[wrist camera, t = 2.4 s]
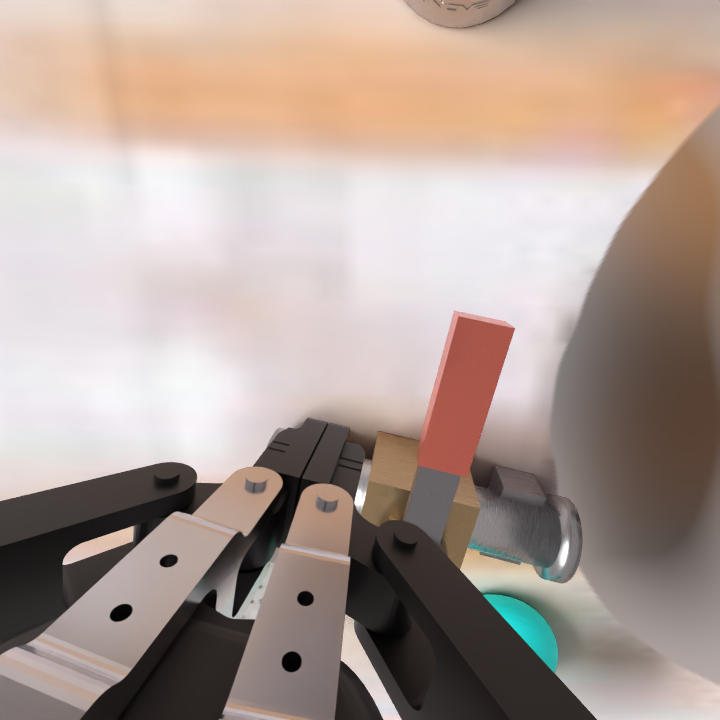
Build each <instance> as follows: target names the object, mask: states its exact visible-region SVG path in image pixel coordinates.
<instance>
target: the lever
mask: <svg viewBox="0 0 720 720" xmlns="http://www.w3.org/2000/svg"><path fill="white" fill-rule="evenodd" d="M514 330H515V328H514V327H512V326H511V325H510V324H508V323H507V322H505V321H500V320H495V319H491V318H486V317H481V316H477V315H472V314H467V313H463V312H458V311H454V314H453V317H452V321H451V325H450V329H449V332H448V336H447V340H446V343H445V347H444V351H443V354H442V358H441V362H440V366H439V369H438V373H437V377H436V380H435V384H434V388H433V392H432V395H431V399H430V403H429V406H428V410H427V414H426V417H425V421H424V425H423V429H422V432H421V436H420V440H419V443H418V447H417V463H418V465H417V468H416V472H415V476H414V479H413V483H412V487H411V490H410V494H409V498H408V501H407V505H406V509H405V512H404V516H403V520H402V521H406V522H409V523H412V524H414V525H416V526H418V527H419V528H421V529H422V530H423V531H424V532H425V533H426V534H427V535H428V536H429V537H430V538H431V539H432V540H433V541H434V542H435V543H436V544H437V546H438V547H439V548H440V549H441V550H442V551H443V552H444V553H445V554H446V555H447V556H448V553H447V546H446V543H445V541H444V539H443V537H442V535H443V532H444V529H445V526H446V523H447V519H448V516H449V513H450V510H451V507H452V503H453V500H454V497H455V494H456V491H457V488H458V484H459V481H460V478H461V476H463V477H467V476H468V473H469V470H470V467H471V464H472V461H473V458H474V454H475V451H476V448H477V445H478V442H479V439H480V436H481V433H482V430H483V426H484V423H485V420H486V417H487V414H488V411H489V408H490V405H491V401H492V398H493V395H494V392H495V389H496V386H497V383H498V380H499V376H500V373H501V370H502V367H503V364H504V361H505V358H506V355H507V351H508V348H509V345H510V342H511V339H512V336H513V333H514Z"/></svg>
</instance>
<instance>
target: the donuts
mask: <svg viewBox="0 0 720 720" xmlns="http://www.w3.org/2000/svg"><path fill="white" fill-rule="evenodd" d="M483 596H484V597H485V598H486V599H487V600H488V601H489V602H490V603H491V605H492V606H493V607H494V608H495V609H496V610H497V611H498V612H499V613H500V614H501V615H502V617H503V618H504V619H505V620H506V621H507V622H508V623H509V624H510V625H511V626H512V627H513V629H514V630H515V631H516V632H517V633H518V634H519V635H520V636H521V637H522V638H523V639H524V641H525V642H526V643H527V644H528V645H529V646H530V647H531V648H532V649H533V650H534V651H535V653H536V654H537V655H538V656H539V657H540V658H541V659H542V660H543V661H544V662H545V663H546V665H547V666H548V667H549V668H550V669H551V670H552V671H553V672H554V673H555V671H556V668H557V663H558V647H557V642H556V639H555V636H554V634H553V631H552V629H551V628H550V626H549V625H548V623H547V622H546V620H545V619H544V618H543V617H542V616H541V615H540V614H539V613H538V612H537V611H536V610H534V609H533V608H532V607H530V606H529V605H527V604H526V603H524V602H522V601H520V600H517V599H514V598H511V597H508V596H503V595H496V594H486V595H483Z"/></svg>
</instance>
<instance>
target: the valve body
mask: <svg viewBox="0 0 720 720" xmlns="http://www.w3.org/2000/svg"><path fill="white" fill-rule="evenodd" d="M283 430H285V429H282V428H279V429H277V430H276V431H275V433H274V434H273V436H272V437H271V439H270V441H269V443H268V445H267V448H268V446H269V444H270V443H271V442H272V441H273V439H274V438H275V437H276V435H277V434H278V433H279V432H281V431H283ZM418 443H419V441H417V440H413V439H409V438H405V437H401V436H396V435H392V434H388V433H384V432H380V431H378V434H377V439H376V443H375V447H374V452H373V456H372V460H370V459H366V458H364V462H363V467H362V471H361V476H360V480H359V485H358V489H357V493H356V498H355V506H356V509H357V511H358V512H359V513H360V515H361V516H362V517H363V518H364V519H366V520H367V521H368V522H370V523H372V524H374V525H376V526H377V527H379V526H380V525H381V524H383V523H384V522H387V521H391V520H403V516H404V512H405V509H406V505H407V501H408V498H409V494H410V490H411V487H412V483H413V479H414V476H415V472H416V468H417V465H418V463H417V447H418ZM442 537H443V539H444V541H445V543H446V546H447V553H448V558H449V559H450V560H451V561H452V562H453V563H454V564H455V565H456V566H457V567H458V568H459V570H460V568H461V565H462V562H463V559H464V556H465V553H466V550H467V548H468V549H472V550H476V551H479V552H480V555H484V556H488V557H492V558H496V559H499V560H503V561H507V562H511V563H515V564H519V565H520V563H521V562H523V563H527V564H530V565H533V567H534V569H535V571H536V572H537V574H538V575H539V576H540V577H541V578H543V579H545V580H549V581H553V582H557V583H566V582H567V581H569V580H570V579H571V578H572V577H573V575H574V574H575V572H576V570H577V567H578V565H579V561H580V557H581V551H582V528H581V522H580V518H579V515H578V512H577V510H576V508H575V506H574V504H573V503H572V502H571V501H570V500H569V499H567V498H565V497H561V496H557V495H553V494H546V495H545V494H544V493H543V491H542V489H541V487H540V485H539V484H538V482H537V480H536V478H535V476H534V475H533V474H530V473H526V472H521V471H517V470H513V469H509V468H505V467H501V466H497V465H495V467H494V470H493V473H492V476H491V478H490V481H489V484H488V487H487V488H484V487H480V486H476V485H474V483H473V479H472V475H471V472H470V470H469V473H468V476H467V477H463V476H461V478H460V481H459V484H458V488H457V491H456V494H455V497H454V500H453V503H452V507H451V510H450V513H449V516H448V519H447V523H446V526H445V529H444V532H443V535H442Z"/></svg>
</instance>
